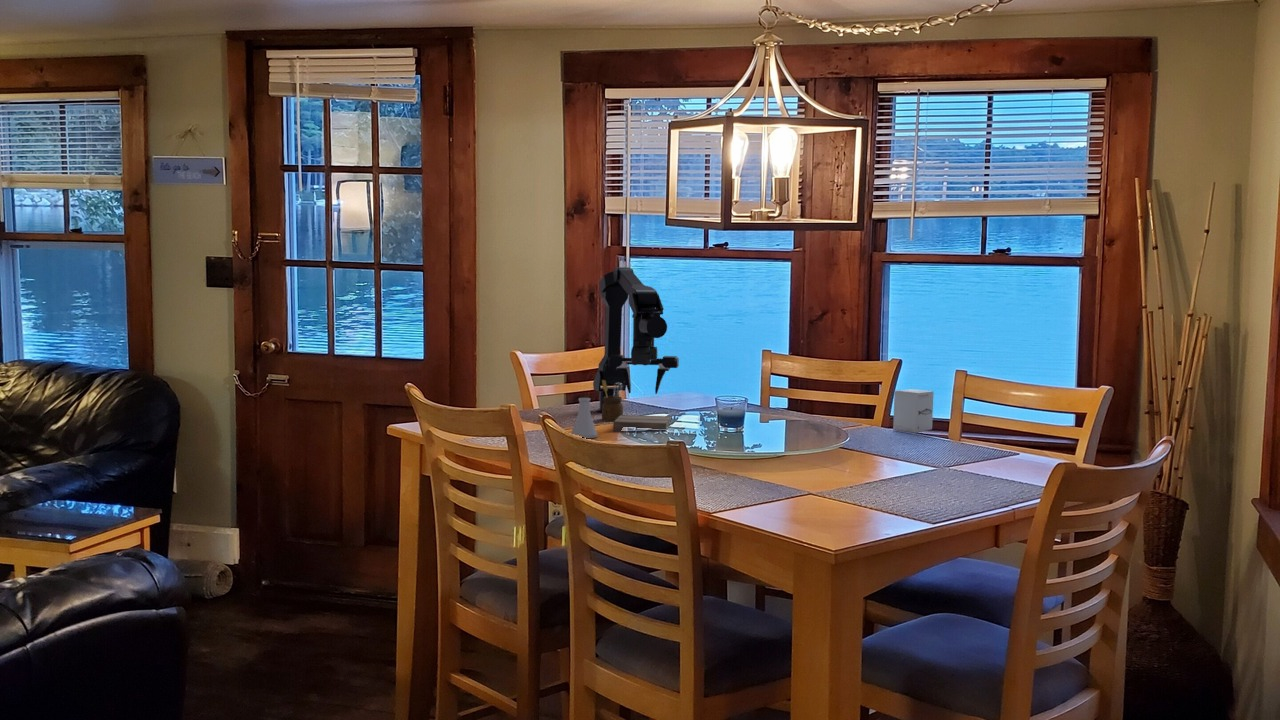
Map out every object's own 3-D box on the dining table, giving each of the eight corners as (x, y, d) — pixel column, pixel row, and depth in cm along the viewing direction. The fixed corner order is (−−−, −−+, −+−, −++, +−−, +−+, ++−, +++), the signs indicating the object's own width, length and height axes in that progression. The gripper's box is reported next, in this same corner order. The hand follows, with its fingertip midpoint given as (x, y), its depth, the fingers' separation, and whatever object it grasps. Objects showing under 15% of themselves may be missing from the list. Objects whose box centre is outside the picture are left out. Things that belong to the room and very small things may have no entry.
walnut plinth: (620, 423, 318) (620, 414, 318) (670, 425, 316) (670, 416, 316) (613, 431, 304) (613, 421, 304) (665, 432, 302) (665, 423, 302)
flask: (567, 435, 296) (567, 397, 295) (594, 434, 298) (594, 396, 297) (573, 439, 289) (574, 400, 288) (601, 438, 291) (601, 399, 290)
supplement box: (916, 442, 291) (917, 392, 290) (892, 438, 297) (893, 390, 296) (932, 439, 296) (934, 390, 295) (909, 435, 302) (910, 388, 301)
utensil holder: (627, 422, 321) (627, 379, 320) (609, 423, 318) (609, 380, 316) (614, 419, 326) (614, 377, 325) (596, 421, 322) (597, 379, 321)
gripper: (604, 337, 301) (604, 395, 302) (675, 338, 299) (674, 397, 300) (610, 334, 312) (610, 391, 313) (679, 335, 310) (678, 392, 311)
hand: (643, 393), depth 309 cm, fingers open, 7 cm apart
